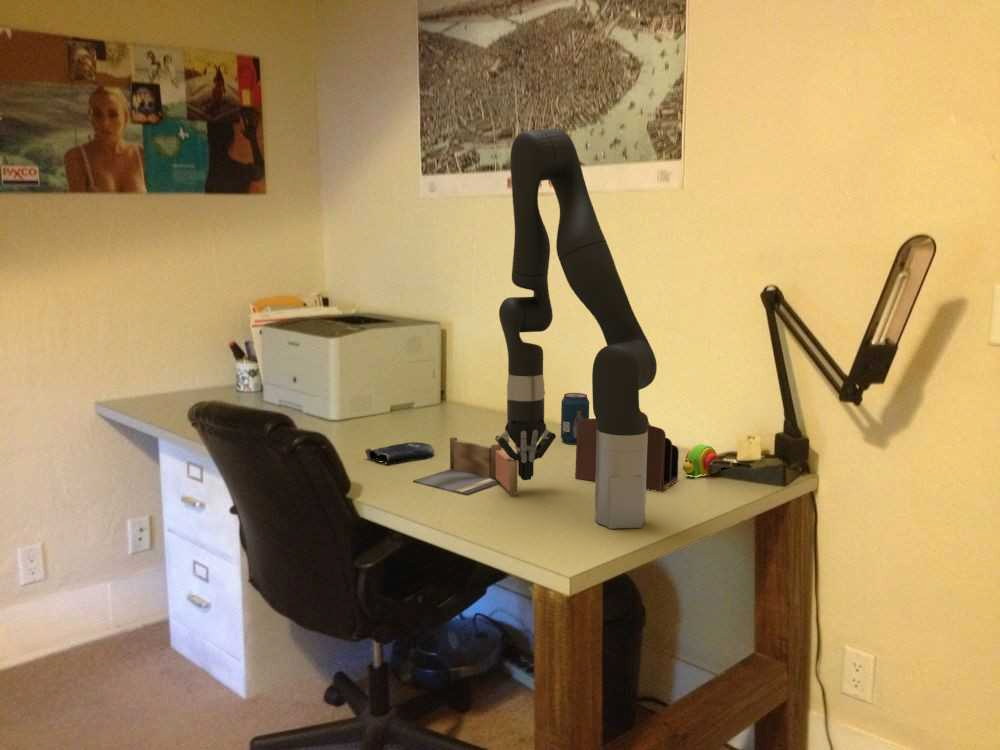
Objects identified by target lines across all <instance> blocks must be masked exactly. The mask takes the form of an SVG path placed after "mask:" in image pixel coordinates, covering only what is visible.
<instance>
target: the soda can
mask: <svg viewBox="0 0 1000 750" xmlns="http://www.w3.org/2000/svg"><path fill="white" fill-rule="evenodd" d="M560 404H561V405H560V407H561V408H560V409H561V412H560V414H561V415H560V421H561V422H560V437H561V439H562V442H563V443H564V444H567V445H574V444H577V423H578V421H579V420H581V419H590V401H589V399H588V394H586V393H582V392H581V393H580V392H567V393H564V394H563V397H562V399H561V403H560Z"/></svg>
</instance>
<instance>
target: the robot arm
mask: <svg viewBox="0 0 1000 750" xmlns="http://www.w3.org/2000/svg"><path fill="white" fill-rule="evenodd" d="M509 160H510V163H509V164H510V179H511V192H512V193H511V194H512V195H511V196H512V204H513V205H512V209H513V219H514V222H513V223H514V242H513V243H514V245H513V254H512V269H511V281H512V283H513V284H514V286H516V287H517V288H520V289H521V288H522V289H524V290H529V291H532V292H533V296H514V297H513V296H511V297H507V298H505V299H504V300H503V301H502V302H501V304H500V306H499V309H498V313H499V314H498V316H499V318H498V319H499V322H500V325H501V329H502V332H503V336H504V339H505V344H506V349H507V358H508V359H507V360H508V362H507V364H508V365H507V366H508V368H507V373H508V375H507V383H506V392H507V393H506V416H507V417H506V419H507V421H506V425H505V427H504V432H502V433H501V434H500V435H496V436H495V441H496V442H497V444H499V445H500V446H501V447H502V451H503V452H504V453H505V454H506V455H507V456H508V457H510V458H511V459H512V460H515V461H518V463H517V476H518V477H520V478H521V480H523V481H530V480H531V479H532V477H533V476H534V466H535V464H534V463H535V461H536V460H538V459H541V458H543V456H544V455H545V453H546V452H547V451H548V449H549V448H550V446H552V444H553V442H554V440H555V439H556V437H557V435H556V433H554V432H552V431H550V430H548V428H547V424H546V423H545V395H546V390H545V379H544V351H543V347H542V346H540V345H539V344H536V343H531V342H524V341H523V339H522V338H521V333H540V332H541V333H542V332H545V331H547V329H548V328H549V327H550V326H551V324H552V321H553V319H554V318H553V317H554V316H553V315H554V314H553V308H552V307H553V306H552V303H551V298H550V297H551V296H550V291H549V282H548V281H549V280H548V278H549V277H548V275H549V267H550V266H549V265H550V256H551V243H550V238H549V234H548V232H547V231H548V230H547V228H546V226H545V224H544V221H543V218H542V215H541V212H540V208H539V199H538V197H539V190H540V189H539V188H540V184H541V182H543V181H549V182H550V183H551V186H552V187H553V190H554V193H555V196H556V199H557V202H558V205H559V206H558V208H559V217H558V218H559V220H558V226H557V233H556V234H557V235H556V247H555V248H556V254H557V258H558V261H559V263H560V266H561V269H562V270H563V271H562V272H563V273H564V276H565V279H566V281H567V284H568V285H569V287H570V289H571V290H572V291H573V293H574V295H576V297H577V298H578V299H579V301H580V302H581V303H582V304H583V305H584V306H585V308H586V309H587V310H588V311H589V313H590V314H591V315H592V316H593V318H594V319H595V321H596V322H597V324H598V326H599V327H600V330H601V333H602V335H603V337H604V340H605V343H606V345H605V346H604V347H602V348H600V350H599V351H598V352H597V353H596V356H595V358H594V361H593V364H592V371H591V372H592V375H591V376H592V377H591V380H592V381H591V384H592V386H591V387H592V388H591V389H592V410H593V415H594V417H595V419H596V420H597V445H596V482H595V486H594V487H595V491H594V492H595V494H594V496H595V497H594V499H595V500H594V520H595V522H596V523H597V524H599V525H602V526H604V527H607V528H608V529H609V530H610V529H635V528H636V529H637V528H638V529H641V528H643V525H644V524H645V522H646V499H647V497H646V496H647V494H646V493H647V490H646V472H647V443H648V421H649V417H648V415H647V414H646V413H644V412H642V410H641V408H640V390H643V389H645V388H647V387H648V386H650V385H651V384H652V383H653V382H654V380H655V378H656V375H657V370H658V369H657V368H658V365H657V364H658V363H657V359H656V355H655V353H654V350H653V349H652V347H651V345H650V342H649V340H648V339H647V336H646V334H645V332H644V330H643V329H642V327H641V325H640V323H639V321H638V319H637V317H636V315H635V313H634V310H633V308H632V306H631V303H630V301H629V300H630V299H629V298H628V295H627V292H626V290H625V288H624V284H623V283H622V280H621V277H620V275H619V272H618V270H617V267H616V263H615V261H614V258H613V255H612V252H611V250H610V247H609V244H608V243H607V239H606V237H605V235H604V233H603V231H602V228H601V226H600V223H599V220H598V218H597V215H596V214H597V213H596V211H595V209H594V206H593V203H592V201H591V197H590V195H589V191H588V188H587V185H586V181H585V178H584V174H583V170H582V169H583V168H582V167H581V166H582V165H581V163H580V158H579V154H578V152H577V149H576V146H575V144H574V142H573V139H572V138H571V137H570V135H569V134H568V133H567V132H566V131H564V130H563V129H559V128H544V129H530V130H524V131H521V132H520V133H518V134H517V136H516V137H515V138H514V140H513V142H512V145H511V149H510V159H509ZM510 439H511V441H512V443H514V445H515V446H514V447H515V450H516V452H515V450H514V449H513V448H512V446H511V445H510V444H509V443H510ZM540 439H541V440H540Z"/></svg>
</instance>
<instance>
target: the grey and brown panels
mask: <svg viewBox="0 0 1000 750" xmlns="http://www.w3.org/2000/svg"><path fill="white" fill-rule="evenodd" d="M499 450H501V451H503V449H502V447H501V446H500V445H499V444H498V443H497V444H491V446H489V445H484V444H479V443H473V442H469V441H465V440H459V439H458V438H457V437H450V438H449V469H447V470H444V471H440V472H437V473H434V474H430V475H426V476H423V477H421V478H417V479H413V483H416V484H420V485H425V486H429V487H433V488H436V489H440V490H445V491H449V492H452V493H455V494H458V495H459V494H461V495H464V496H469V495H471V494H472V495H473V494H475V493H477V492H478V493H479V492H480V491H484V490H486V489H488V488H489V489H490V488H492V487H494V486H497V485H502V484H501V483H500V482H499V481H498V480H497V479H496V451H499Z"/></svg>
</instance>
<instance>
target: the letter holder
mask: <svg viewBox="0 0 1000 750" xmlns="http://www.w3.org/2000/svg"><path fill="white" fill-rule="evenodd" d="M650 425H651V424H650ZM650 425H648V443H647V472H646V489H649V490H648V491H650V490H656V491H663V490H664V491H665V489H666V488H667V487H669V486H670V485H671V484H672V483H674V482H675V481H676V480H677V479H678V480H679V454H680V451H679V448H678V447H677V446H676V445H674V444H673V442H672V441H671V439H670V438H668V437H666V432H665V429H662V428H661V427H658V426H654V425H651V426H650ZM596 445H597V420H596V418H589V419H581V420H579V421H578V423H577V444H576V447H575V449H576V450H575V452H576V453H575V471H574V472H575V473H574V474H575V475H574V478H575V479H576V480H582V481H588V482H593V481H594V482H593V483H596ZM675 483H676V482H675ZM675 483H674V484H675ZM671 486H672V485H671ZM671 486H670V487H671ZM670 487H669V488H670ZM667 489H668V488H667ZM667 489H666V490H667ZM656 491H655V492H656ZM664 491H663V492H664Z"/></svg>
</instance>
